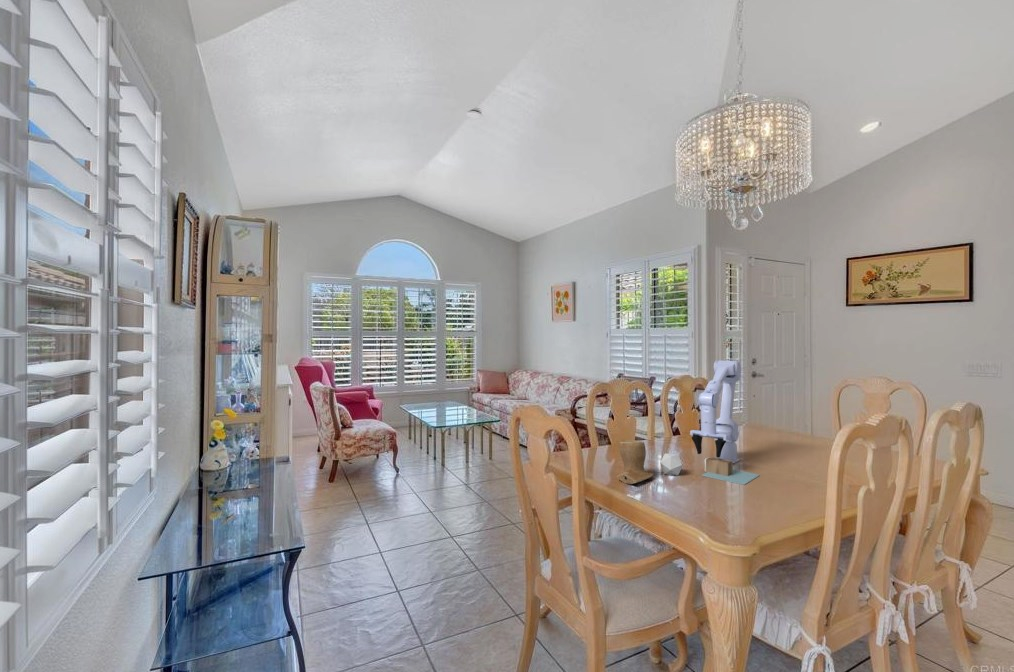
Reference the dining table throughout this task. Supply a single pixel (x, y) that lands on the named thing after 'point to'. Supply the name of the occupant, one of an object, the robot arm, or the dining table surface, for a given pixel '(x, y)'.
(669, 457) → the die
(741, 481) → the mat
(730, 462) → the walnut block
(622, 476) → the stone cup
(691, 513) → the dining table surface
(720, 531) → the dining table surface
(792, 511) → the dining table surface
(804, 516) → the dining table surface
